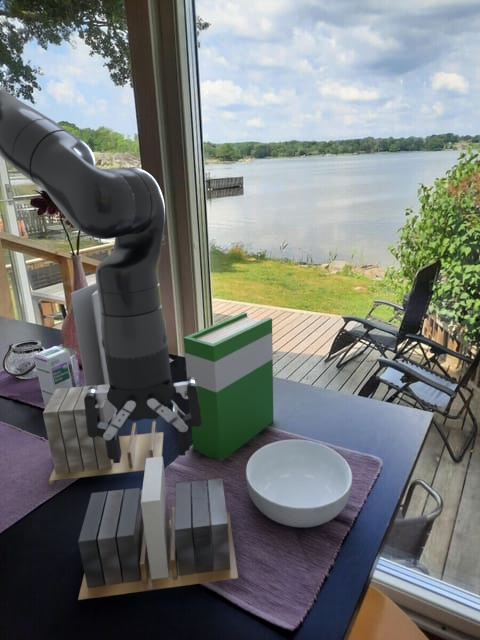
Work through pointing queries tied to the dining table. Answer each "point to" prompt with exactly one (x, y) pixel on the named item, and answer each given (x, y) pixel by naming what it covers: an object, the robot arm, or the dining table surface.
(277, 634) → the dining table surface
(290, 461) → the cereal bowl
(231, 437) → the hardback book
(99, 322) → the grey box
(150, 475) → the white book
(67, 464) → the beige rack
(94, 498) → the grey rack
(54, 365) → the syrup box
